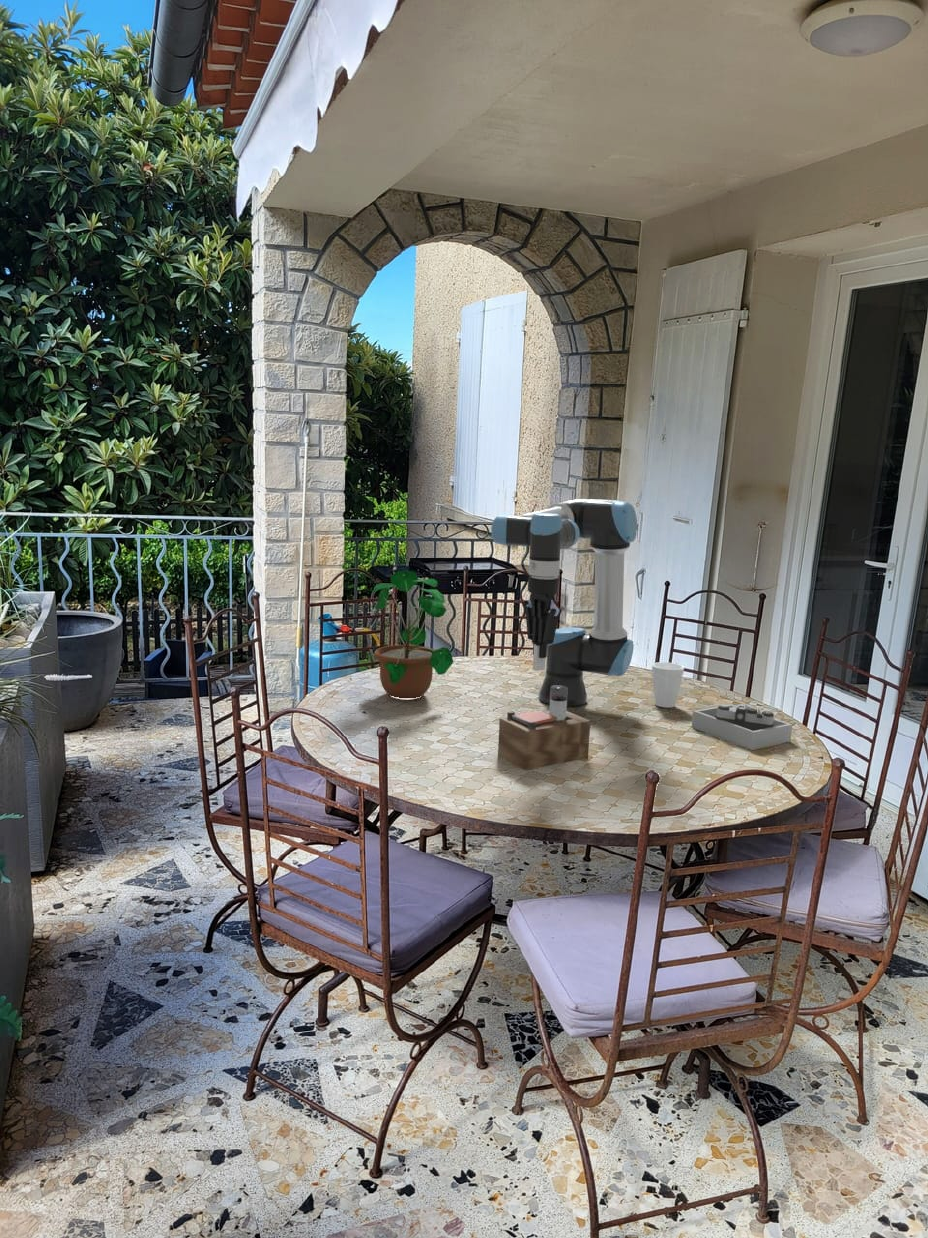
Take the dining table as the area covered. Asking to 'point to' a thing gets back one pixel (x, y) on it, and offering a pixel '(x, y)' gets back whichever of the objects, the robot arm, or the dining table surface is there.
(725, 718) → the camera
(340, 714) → the dining table surface
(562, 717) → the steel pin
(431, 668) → the potted plant
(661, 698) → the cup
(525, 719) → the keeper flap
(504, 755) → the block
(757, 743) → the camera corral
